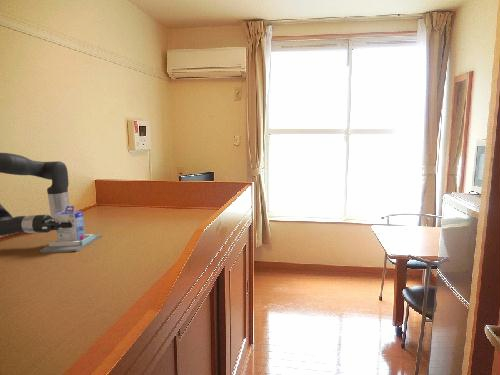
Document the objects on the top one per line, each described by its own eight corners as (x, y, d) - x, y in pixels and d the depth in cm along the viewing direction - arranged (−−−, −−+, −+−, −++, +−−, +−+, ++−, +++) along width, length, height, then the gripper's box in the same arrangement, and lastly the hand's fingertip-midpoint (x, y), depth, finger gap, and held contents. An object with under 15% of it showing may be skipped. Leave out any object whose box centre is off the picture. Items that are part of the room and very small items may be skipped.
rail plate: (69, 237, 157) (69, 232, 157) (101, 236, 156) (101, 231, 156) (40, 252, 138) (39, 246, 137) (76, 251, 137) (76, 245, 136)
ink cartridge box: (86, 238, 148) (82, 205, 146) (78, 242, 143) (73, 208, 141) (66, 238, 150) (62, 205, 148) (57, 242, 145) (52, 208, 143)
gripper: (24, 219, 139) (64, 218, 138) (47, 211, 153) (84, 210, 152) (26, 237, 140) (66, 236, 139) (49, 227, 154) (86, 226, 153)
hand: (75, 222), depth 145 cm, fingers closed on ink cartridge box, 6 cm apart
